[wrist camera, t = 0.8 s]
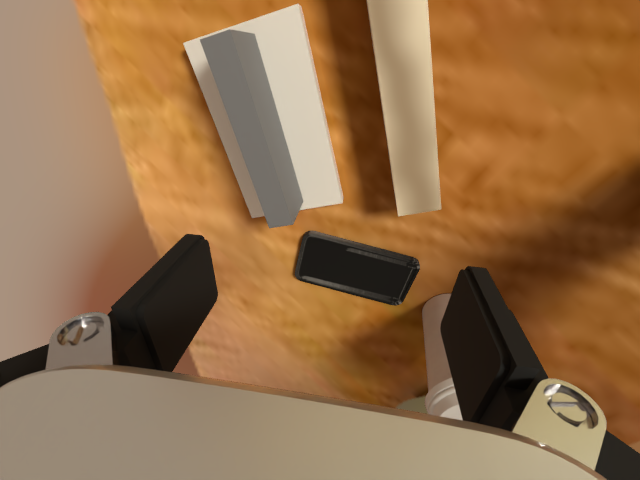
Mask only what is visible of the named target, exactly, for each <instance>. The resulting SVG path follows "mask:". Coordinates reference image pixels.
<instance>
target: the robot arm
mask: <svg viewBox="0 0 640 480" xmlns="http://www.w3.org/2000/svg"><path fill="white" fill-rule="evenodd" d="M217 297H218V292H217V286H216V280H215V275H214V269H213V264H212V258H211V253H210V247H209V243H208V241H207V240H205V239H204V237H203V236H202V235H193V234H186V235H185V236H184V237H183V238H182V239H181V240H180V241H179V242H177V243H176V244H175V245H174V246H173V247H172V248H171V249H170V250H169V251H168V252H167V253H166V254H165V255H164V256H163V257H162V258H161V259H160V260H159V261H158V262H157V263H156V264H155V265H154V266H153V267H152V268H151V269H150V270H149V271H148V272H147V273H146V274H145V275H144V276H143V277H142V278H141V279H140V280H139V281H137V282H136V283H135V284H134V285H133V286H132V287H131V288H130V289H129V290H128V291H127V292H126V293H125V294H124V295H123V296H122V297H121V298H120V299H119V300H118V301H117V302H116V303H115V304H114V305H113V306H112V307H111V308H112V311H111V312H110V313H109V314H108V315H106V314H104V313H100V312H90V313H85V314H81V315H78V316H76V317H73V318H71V319H70V320H68V321H66V322H64V323H63V324H62V325H61V326H59V327H58V328H57V329H56V330H55V332H54V333H53V334H52V336H51V339H50V343H49V344H48V345H45V346H42V347H40V348H37V349H34V350H32V351H29V352H26V353H23V354H20V355H18V356H15V357H13V358H10V359H7V360H5V361H2V362H0V480H640V454H639V453H638V452H636V451H635V450H634V449H632V448H631V447H629V446H628V445H626V444H625V443H624V442H622V441H621V440H619V439H618V438H617V437H615V436H614V435H612V434H611V433H609V432H608V431H607V430H606V419H605V416H604V414H603V412H602V410H601V409H600V408H599V406H598V405H597V404H596V402H595V401H593V400H592V399H591V398H590V397H589V396H588V395H587V394H586V393H584V392H583V391H582V390H580V389H579V388H577V387H575V386H573V385H572V384H570V383H568V382H565V381H562V380H558V379H549V378H548V376H547V374H546V372H545V371H544V369H543V367H542V365H541V363H540V361H539V360H538V358H537V356H536V354H535V352H534V351H533V349H532V347H531V345H530V343H529V342H528V340H527V338H526V336H525V334H524V332H523V331H522V329H521V327H520V325H519V323H518V322H517V320H516V318H515V316H514V314H513V313H512V312H511V310H509V309H508V307H507V306H506V304H505V302H504V300H503V298H502V296H501V295H500V293H499V291H498V289H497V287H496V285H495V283H494V282H493V280H492V278H491V276H490V274H489V272H488V271H487V269H486V268H480V267H471V266H468V267H466V269H465V270H460V272H459V274H458V277H457V280H456V283H455V285H454V288H453V291H452V294H451V296H450V299H449V302H448V305H447V308H446V310H445V313H444V316H443V319H442V321H441V326H440V332H441V336H442V340H443V344H444V348H445V352H446V356H447V360H448V364H449V368H450V372H451V376H452V380H453V384H454V388H455V392H456V396H457V400H458V404H459V408H460V411H461V415H462V419H463V420H457V419H452V418H447V417H441V416H436V415H430V414H425V413H419V412H413V411H408V410H402V409H396V408H390V407H384V406H378V405H372V404H366V403H360V402H354V401H348V400H342V399H336V398H330V397H324V396H318V395H312V394H306V393H300V392H294V391H288V390H281V389H275V388H269V387H263V386H257V385H251V384H244V383H238V382H232V381H225V380H219V379H212V378H206V377H200V376H193V375H187V374H181V373H174V372H172V371H173V370H174V368H175V366H176V365H177V363H178V361H179V360H180V358H181V357H182V355H183V354H184V352H185V350H186V349H187V347H188V346H189V344H190V342H191V341H192V339H193V338H194V336H195V334H196V333H197V331H198V330H199V328H200V326H201V325H202V323H203V322H204V320H205V318H206V317H207V315H208V314H209V312H210V310H211V309H212V307H213V306H214V304H215V302H216V300H217Z"/></svg>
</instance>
